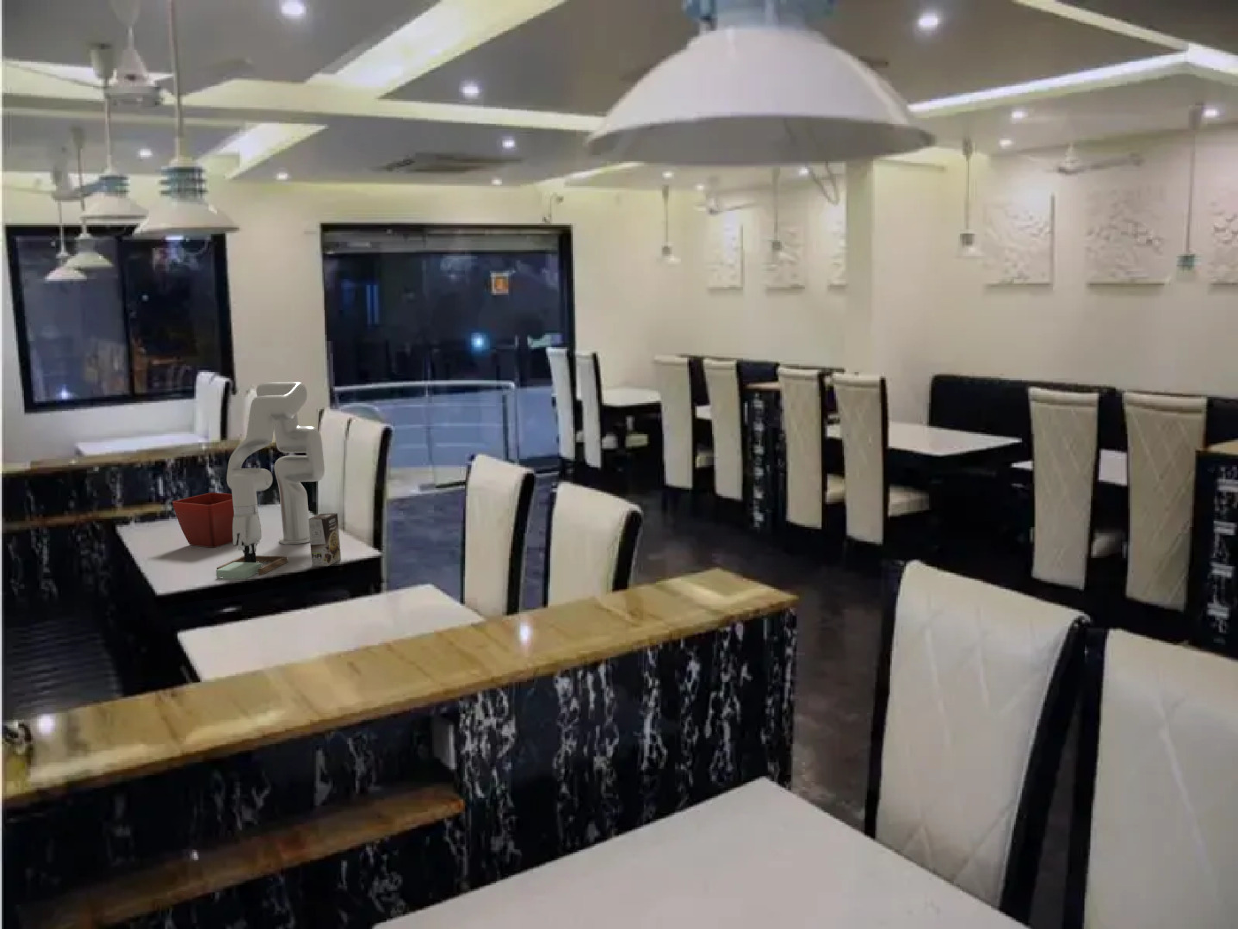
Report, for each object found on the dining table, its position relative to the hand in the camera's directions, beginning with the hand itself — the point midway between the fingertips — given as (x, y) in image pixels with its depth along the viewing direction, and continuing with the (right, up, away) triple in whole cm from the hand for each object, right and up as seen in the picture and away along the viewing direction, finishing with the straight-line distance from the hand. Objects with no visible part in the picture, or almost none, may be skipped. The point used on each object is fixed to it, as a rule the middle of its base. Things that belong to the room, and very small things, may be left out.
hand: (250, 564), depth 332 cm
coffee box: (+24, 0, +5) cm, 24 cm away
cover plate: (-1, -3, -6) cm, 7 cm away
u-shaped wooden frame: (0, -1, +1) cm, 2 cm away
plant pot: (-27, +4, +39) cm, 48 cm away
